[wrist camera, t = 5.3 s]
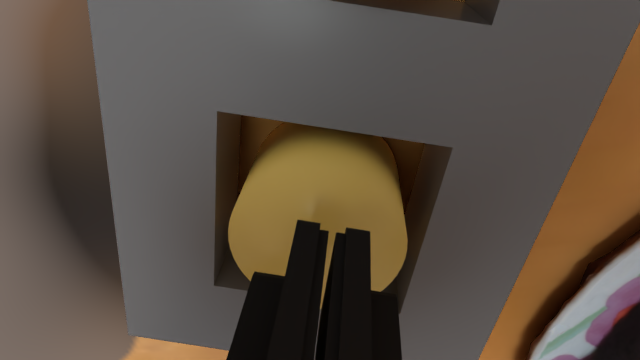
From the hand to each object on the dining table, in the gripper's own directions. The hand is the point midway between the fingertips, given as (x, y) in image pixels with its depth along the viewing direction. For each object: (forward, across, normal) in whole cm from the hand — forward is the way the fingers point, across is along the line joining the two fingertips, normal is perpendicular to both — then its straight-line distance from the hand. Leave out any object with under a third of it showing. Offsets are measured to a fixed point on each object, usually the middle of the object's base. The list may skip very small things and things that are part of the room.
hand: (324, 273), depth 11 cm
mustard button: (+5, 0, 0) cm, 5 cm away
